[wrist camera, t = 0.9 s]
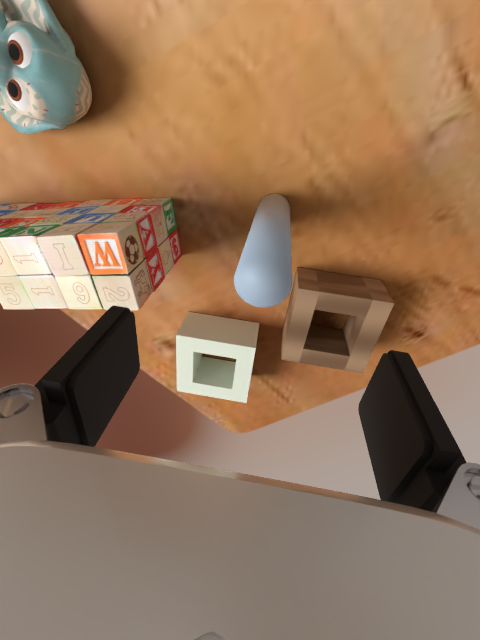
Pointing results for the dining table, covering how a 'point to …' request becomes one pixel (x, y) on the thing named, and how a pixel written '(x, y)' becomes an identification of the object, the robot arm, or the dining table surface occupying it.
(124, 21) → the dining table surface
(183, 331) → the white square hollow block
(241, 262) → the light blue rod
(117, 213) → the stack of blocks
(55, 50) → the teal cartoon creature figurine
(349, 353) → the brown wooden square ring
